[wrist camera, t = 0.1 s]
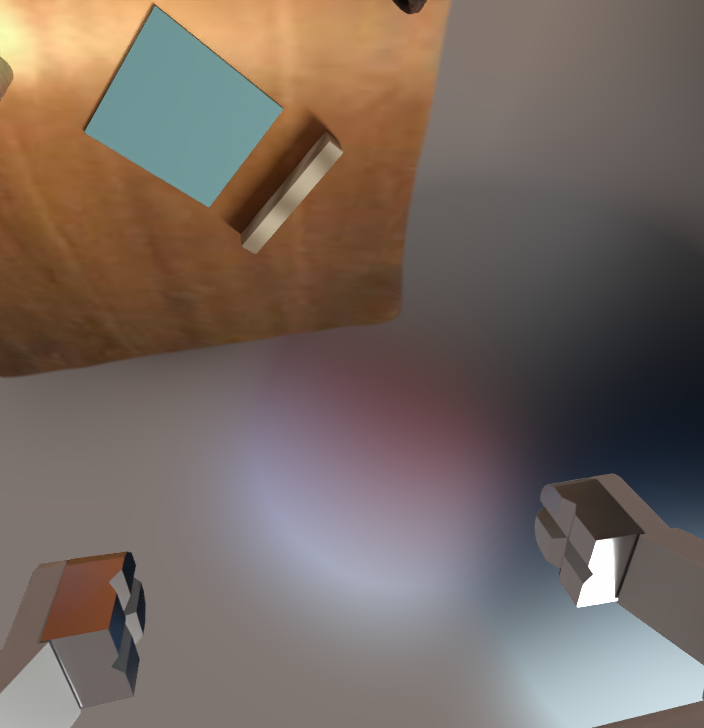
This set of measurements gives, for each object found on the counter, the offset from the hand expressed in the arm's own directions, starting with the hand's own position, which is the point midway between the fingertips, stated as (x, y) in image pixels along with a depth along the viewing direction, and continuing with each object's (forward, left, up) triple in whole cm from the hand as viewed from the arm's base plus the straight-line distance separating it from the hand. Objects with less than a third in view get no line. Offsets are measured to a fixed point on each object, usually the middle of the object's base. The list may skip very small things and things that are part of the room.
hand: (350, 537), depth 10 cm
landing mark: (+14, +4, -52) cm, 54 cm away
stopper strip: (+14, +17, -52) cm, 57 cm away
